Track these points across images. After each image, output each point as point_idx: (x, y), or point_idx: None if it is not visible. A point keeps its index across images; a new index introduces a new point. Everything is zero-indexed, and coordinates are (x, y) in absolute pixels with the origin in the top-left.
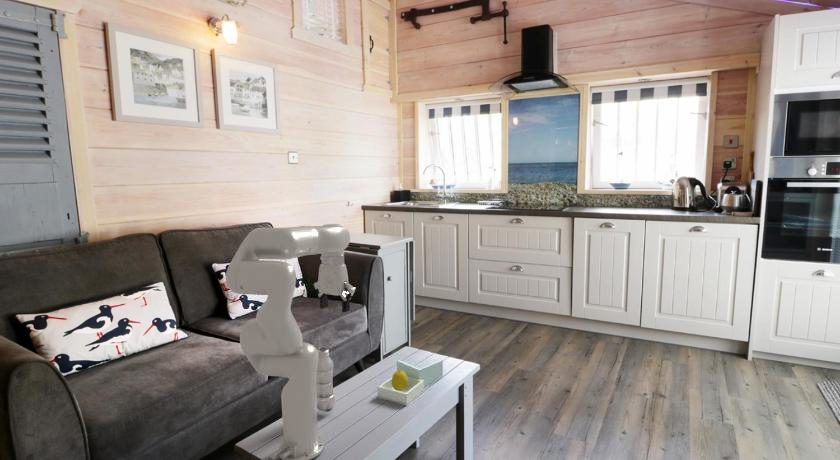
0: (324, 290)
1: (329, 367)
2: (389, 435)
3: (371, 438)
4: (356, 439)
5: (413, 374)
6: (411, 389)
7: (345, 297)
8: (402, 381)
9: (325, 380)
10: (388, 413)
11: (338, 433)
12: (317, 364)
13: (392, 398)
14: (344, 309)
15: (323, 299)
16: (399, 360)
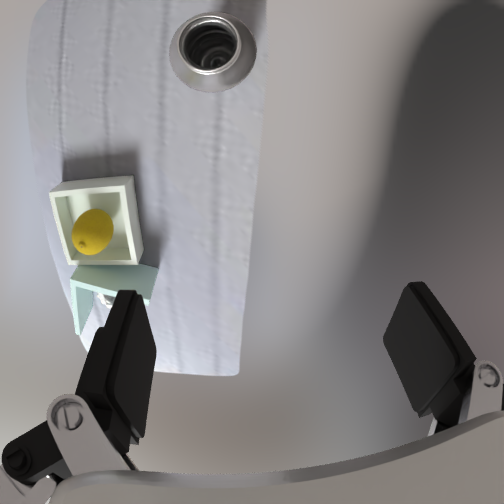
0: (460, 482)
1: (170, 45)
2: (26, 74)
3: (46, 43)
4: (68, 20)
5: (94, 273)
6: (57, 217)
7: (57, 439)
8: (74, 224)
9: (190, 39)
10: (70, 133)
11: (113, 7)
12: (213, 14)
13: (91, 181)
14: (115, 318)
15: (434, 365)
16: (145, 303)
